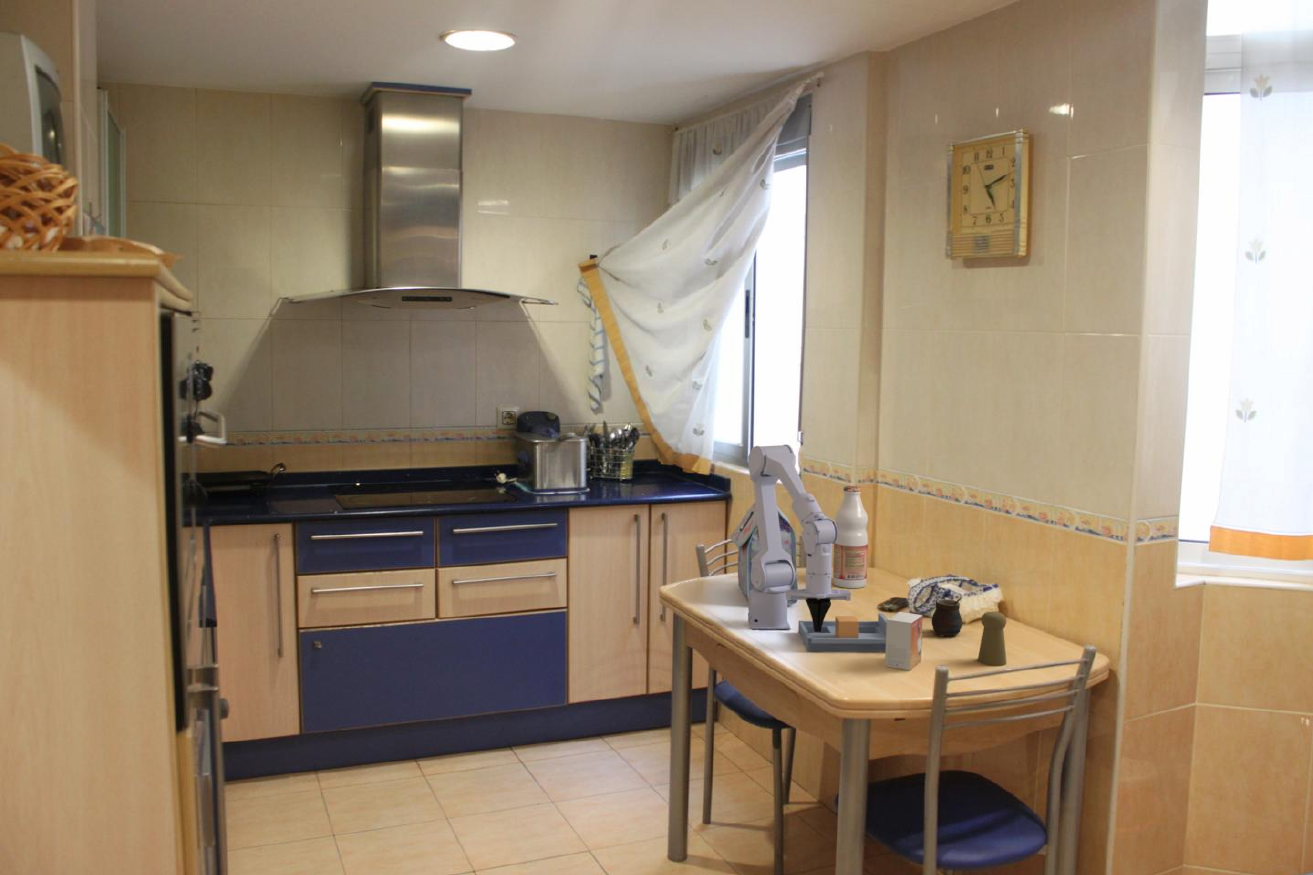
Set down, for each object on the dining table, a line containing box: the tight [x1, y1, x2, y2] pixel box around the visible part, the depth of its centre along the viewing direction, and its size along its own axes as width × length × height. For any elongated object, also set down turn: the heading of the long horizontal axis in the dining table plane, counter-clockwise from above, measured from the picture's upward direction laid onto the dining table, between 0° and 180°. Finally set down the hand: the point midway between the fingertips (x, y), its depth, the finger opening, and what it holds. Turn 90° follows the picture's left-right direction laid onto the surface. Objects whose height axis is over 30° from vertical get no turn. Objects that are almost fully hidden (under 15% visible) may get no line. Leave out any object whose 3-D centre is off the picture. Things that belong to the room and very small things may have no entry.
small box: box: [884, 611, 924, 671], centre depth 236 cm, size 8×6×10 cm
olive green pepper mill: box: [977, 611, 1007, 667], centre depth 238 cm, size 6×6×11 cm
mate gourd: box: [931, 596, 963, 638], centre depth 259 cm, size 7×8×10 cm
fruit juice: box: [832, 485, 869, 589], centre depth 307 cm, size 9×9×28 cm
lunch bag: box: [730, 502, 799, 606], centre depth 293 cm, size 22×17×26 cm
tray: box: [797, 612, 888, 653], centre depth 252 cm, size 20×15×5 cm
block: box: [834, 615, 860, 638], centre depth 249 cm, size 4×4×4 cm
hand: (817, 630), depth 249 cm, fingers closed
